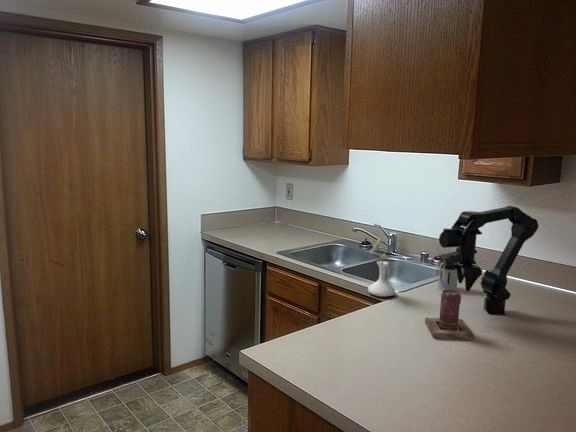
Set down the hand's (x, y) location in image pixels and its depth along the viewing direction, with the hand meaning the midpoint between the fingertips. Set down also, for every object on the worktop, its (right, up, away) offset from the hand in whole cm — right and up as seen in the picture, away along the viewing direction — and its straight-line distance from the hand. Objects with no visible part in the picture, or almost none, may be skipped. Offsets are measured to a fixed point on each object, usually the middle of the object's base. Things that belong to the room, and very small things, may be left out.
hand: (463, 286), depth 173 cm
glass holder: (+3, -6, +29) cm, 30 cm away
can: (-10, -13, -13) cm, 21 cm away
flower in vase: (-27, -7, +23) cm, 36 cm away
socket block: (-10, -13, -13) cm, 21 cm away
